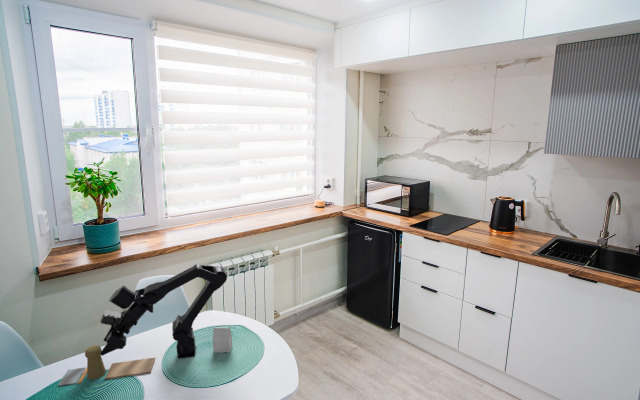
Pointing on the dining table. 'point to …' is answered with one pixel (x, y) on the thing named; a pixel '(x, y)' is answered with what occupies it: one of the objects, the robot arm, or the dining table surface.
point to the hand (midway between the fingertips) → (102, 347)
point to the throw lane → (111, 371)
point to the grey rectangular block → (222, 339)
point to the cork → (94, 363)
